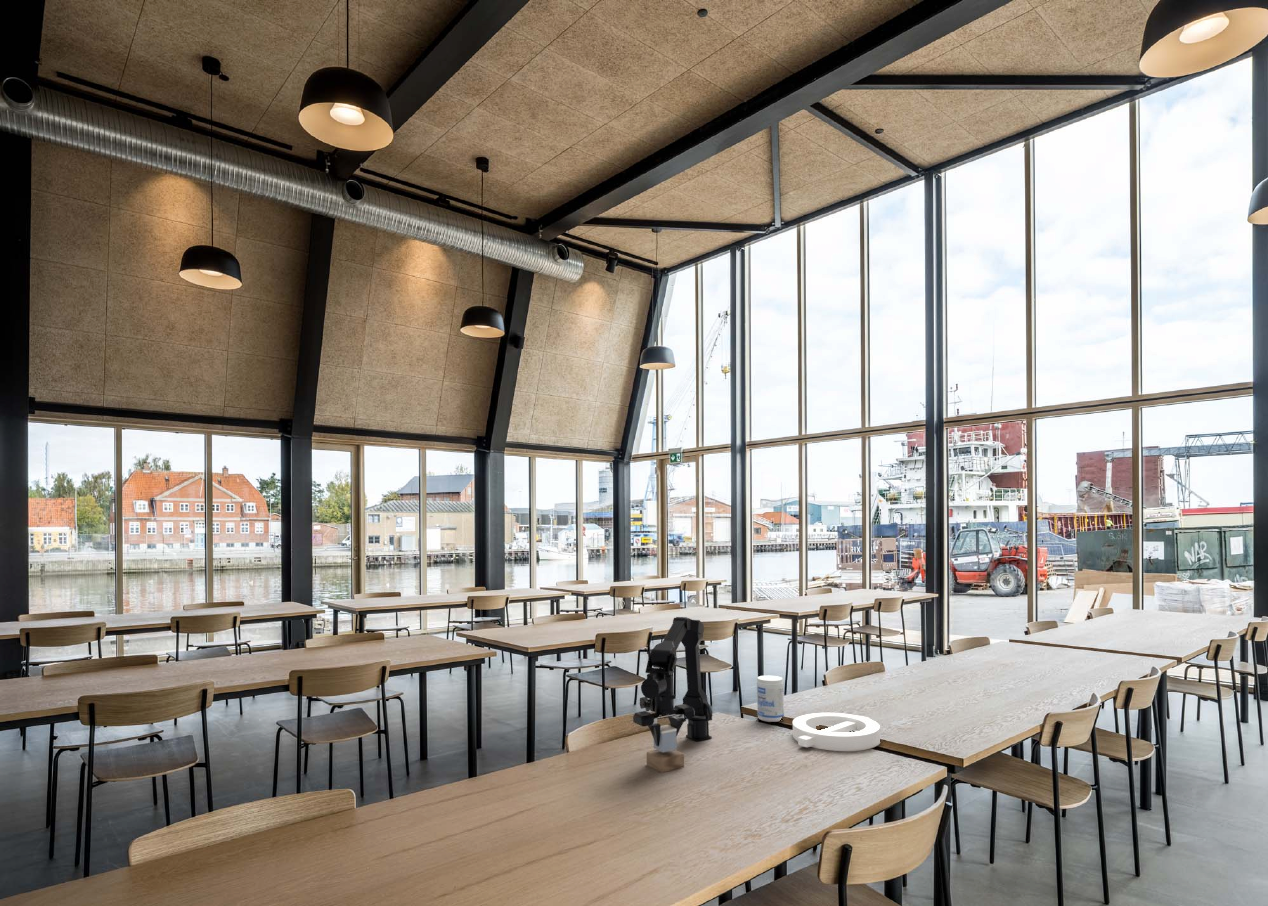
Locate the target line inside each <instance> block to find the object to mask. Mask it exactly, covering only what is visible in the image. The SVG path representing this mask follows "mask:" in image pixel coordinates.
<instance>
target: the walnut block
mask: <svg viewBox="0 0 1268 906" xmlns="http://www.w3.org/2000/svg"><path fill="white" fill-rule="evenodd" d="M684 754H685V753H684V752H681V751H678V750H672V751H667V752H661V751H659V750H657V749H653V750H649V751H646V766H648V767H650V768H652V769H654V770H657V771H659V772H661V773H665V772H669V771H673V770H676V769H681V768H684V767H685V755H684Z"/></svg>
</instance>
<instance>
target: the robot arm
mask: <svg viewBox="0 0 1268 906" xmlns="http://www.w3.org/2000/svg"><path fill="white" fill-rule="evenodd" d="M704 631H705V626H704V623H703V622H701V620H700V619H692V618H690V617H687V616H675V617H673V619H672V624H671V626H670V627H669V629H668V632H667V633H666V635H665V636H664V638H663V640H662V641H661V642H659V643H657V644H655V646H654V647H653V648H652V649H651V651H650V653H649V655H648V659H647V663H646V666H645V667H646V668H645V674H646V678H645V679H644V680H643V681H642V682H641V685H640V691H641V694H642V695H643V697H639V707H640V709H645V710H644V711H638V712H634V713H633V716H632V721H633V724H636V725H638V726H640V727H648V729H649V731H650V733H651V735H652V739H653V742H654V741H655V744H656V746H659V742H660V726H661V724H660V723H658V720H660V719H666V718H668V721H669V724H670V725H669V726H672V727H674V728H676V729H677V731H676V738H677V736H678V734H679V732H680V729H682V726H683V724H684V723H685V722H686V721H687V725H686V727H687V729H686V730H687V731H686V735H685V737H686V738H688V739H691V740H693V741H695V742H701V741H704V740H709V739H710V740H711V739H712V735H710V732H709V731H710V729H709V726H710V724H709V721H713V716H714V714H713V710H712V708H711V705H710V704H709V701H708V696H707V693H706V692H705V691H704V690H703V688H702V675H701V673H702V672H701V660H700V644H701V642H702V640H703V638H704ZM680 644H682V645H683V647H684V654H685V655H684V658H685V669H686V684H687V685H686V686H687V690H686V693H685V695H684V696H683V698H682V704H677V705H675V706H674V700H676V694H674V683H673V682H674V681H673V680H674V679H673V678H674V677H673V676H674V675H673V674H674V673H675V667H676V664H677V660H678V657H677V650H678V648H679V646H680ZM649 711H650V712H651V713H650V712H649Z"/></svg>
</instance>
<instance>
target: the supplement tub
mask: <svg viewBox="0 0 1268 906" xmlns="http://www.w3.org/2000/svg"><path fill="white" fill-rule="evenodd" d="M784 698H785V697H784V681H783V677H782V676H777V675H768V674H767V675H760V676H757V680H756V705H757V712H756V713H757V718H758V719H759V720H761V721H763V722H768V723H771V722H774V723H776V722H777V723H778V722H781V721H782V720H781V718H782V716H784V717H785V707H784V705H785V704H784V702H785V699H784ZM780 720H781V721H780Z"/></svg>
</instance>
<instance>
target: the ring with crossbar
mask: <svg viewBox="0 0 1268 906" xmlns="http://www.w3.org/2000/svg"><path fill="white" fill-rule="evenodd" d="M819 725H834V726H831V727H828V728H825V729H821V730H817V729H816V726H819ZM852 730H860V731H855V732H853V731H852ZM849 731H851V732H849ZM792 737H793V739H794V740H795V741H796V742H798V746H800V747H803V748H810V747H811V748H814V749H820V750H826V751H837V752H857V751H858V752H859V751H864V750H868V749H873V748H875V747H877V746H879V745H880V744H881V742H880V738H881V726H880V724H879V723H878V722H877V721H875V720H873V719H871V718H870V717H868V716H863V715H857V714H852V713H851V714H849V713H843V712H817V713H815V712H814V713H808V714H803V715H799V716H797V717H795V718H794V719H792Z"/></svg>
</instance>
